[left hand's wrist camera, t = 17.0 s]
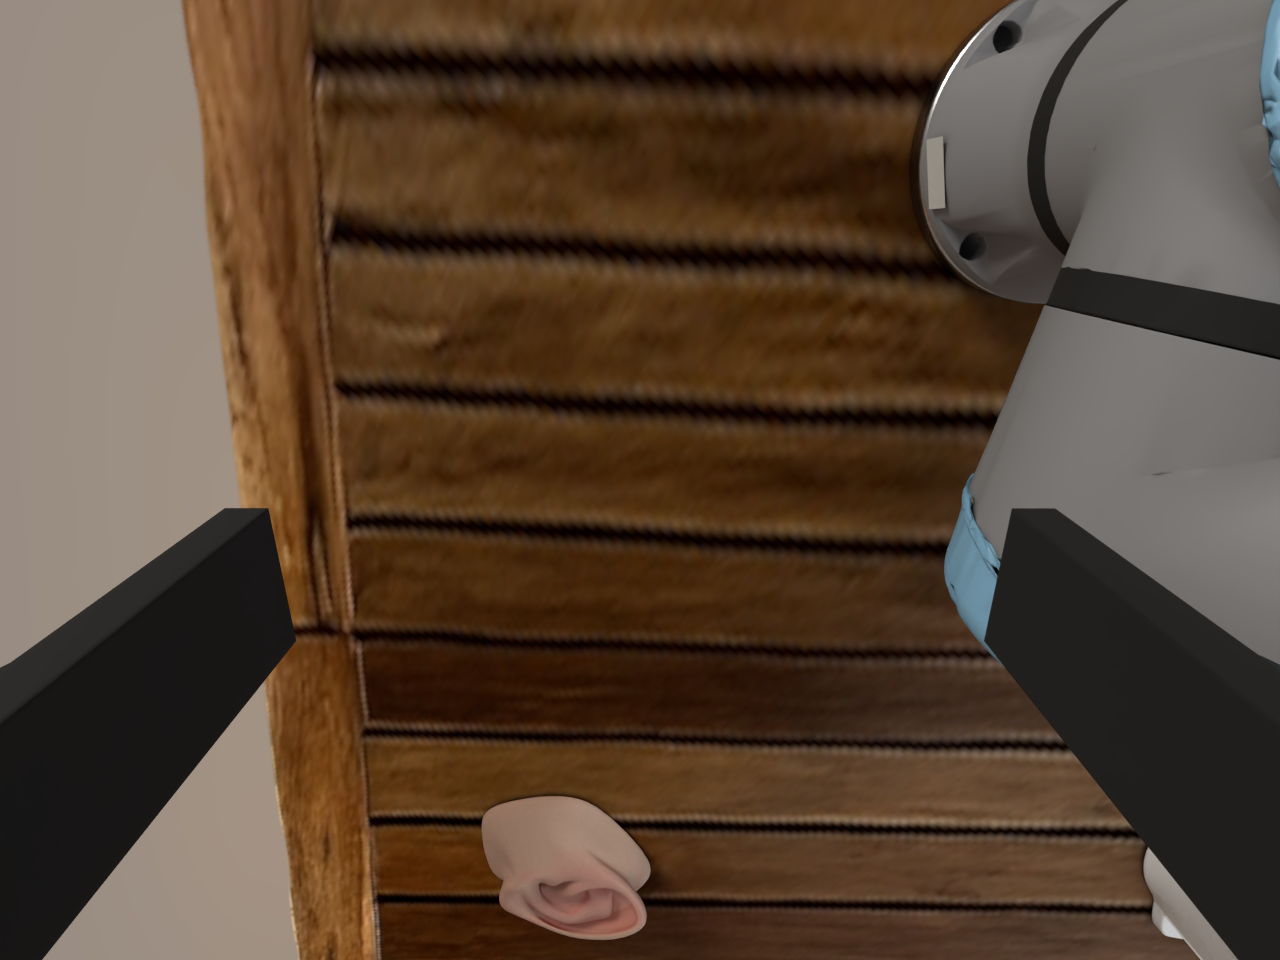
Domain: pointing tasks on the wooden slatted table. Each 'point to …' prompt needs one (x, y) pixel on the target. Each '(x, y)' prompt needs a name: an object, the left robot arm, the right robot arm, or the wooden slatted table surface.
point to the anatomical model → (566, 867)
